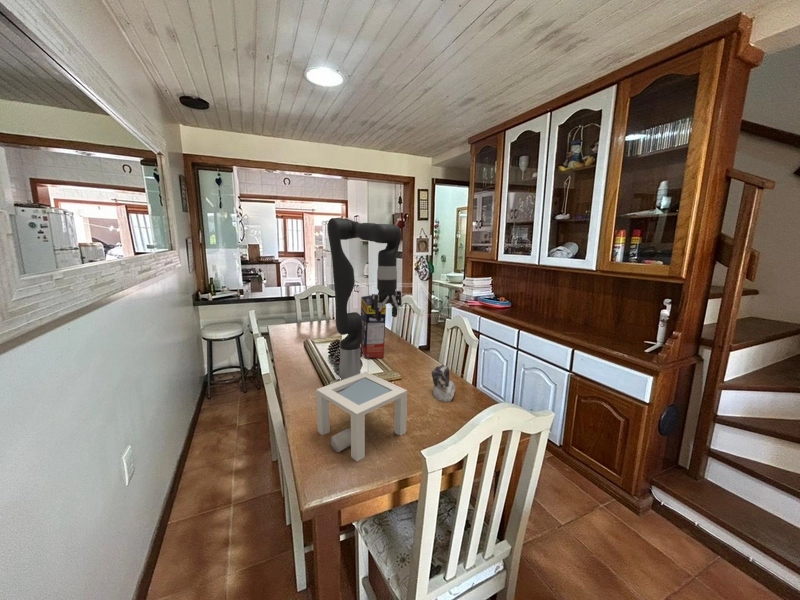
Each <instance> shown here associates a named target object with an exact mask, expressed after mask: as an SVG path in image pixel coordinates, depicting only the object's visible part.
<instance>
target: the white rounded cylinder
mask: <svg viewBox="0 0 800 600" xmlns="http://www.w3.org/2000/svg"><path fill="white" fill-rule="evenodd" d="M330 445H331V446H332V449H333V450H334V451H335V452H336V453H339V452H341V451H343V450H345V449H347V448H349V447H351V428H346V429H344V430H342V431H340V432H338V433H335V434H334V435H332V436H331V437H330Z"/></svg>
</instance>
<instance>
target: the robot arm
mask: <svg viewBox="0 0 800 600" xmlns="http://www.w3.org/2000/svg"><path fill="white" fill-rule="evenodd" d="M327 237H328V242H329V243H328V244H329V248H330V253H331V264H332V265H331V266H332V275H333V276H332V277H333V287H334V296H335V328H336V330H337V332H338V334H340V335H341V336H345V335H346V336H345V337H344V338H342V340H341V341H340V343H339V351H340V353H339V354H340V355H339V356H340V357H339V363H338V364H339V369H338V370H339V379H340V378H341V380H344V379H347V378H349V377H352V376H355V375H358V374H360V373H361V347H360V344H361V341H362V318H361V313H358V312H357V311H353V312H348V304H349V303H348V302H349V299H350V297H351V295H352V292H353V289H354V287H355V282H356V281H355V270H354V267H353V265H352V263H351V262H350V260H349V259H348V258H347V256H346V254H345V252H344V250H343V246H342V241H343V240H346V241H347V240H353V239H360V240H362V241H366V242H367V241H369V242H374V243H377V244H386V246H385V248H384V249H381V250H379V251H378V253H377V271H376V275H377V276H376V283H377V284H376V286H377V287H376V289H377V290H378V293H376V294H375V293H372V294H371V309H372V310H375V318H376V320H377V321H381V309H382V307H384V305H388V304H390V305H391V317H393V318H397V317H398V310H399V309H398V308H399V306H402V291H401V290H397V289H398V287H397V286H398V285H397V284H398V281H397V280H398V269H397V260H398V259H397V254H398V251H399V248H400V246H401V245H400V244H401V241H402V231H401V228H400V227H399V226H398V225H397V224H389V223H376V222H375V223H374V222H357V221H354V220H352V219H349V218H337V217H331V218H330V219H329V220H328V222H327ZM380 302H381V303H380ZM374 304H375V306H374Z"/></svg>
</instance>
